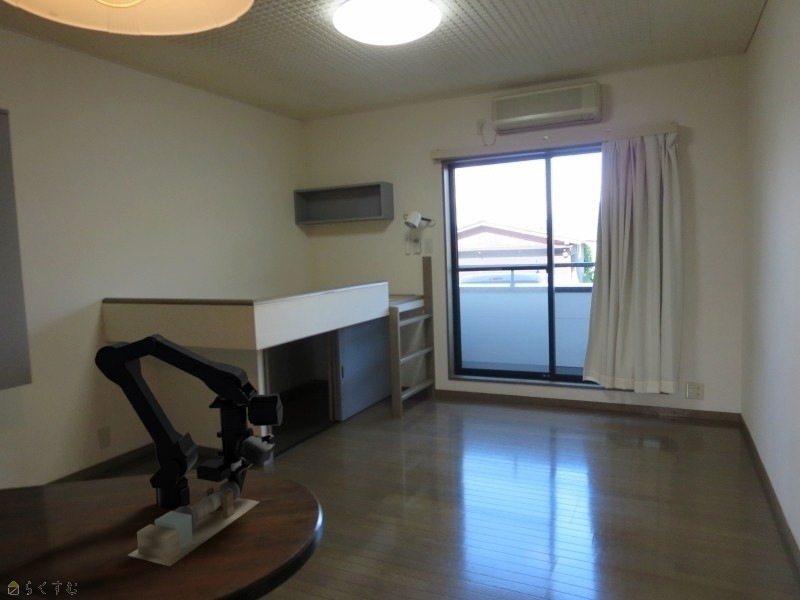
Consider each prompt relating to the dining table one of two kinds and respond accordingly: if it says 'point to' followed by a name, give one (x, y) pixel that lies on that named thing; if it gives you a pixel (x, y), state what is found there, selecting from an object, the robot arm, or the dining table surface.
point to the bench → (166, 543)
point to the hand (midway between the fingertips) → (238, 493)
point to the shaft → (209, 503)
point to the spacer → (177, 525)
